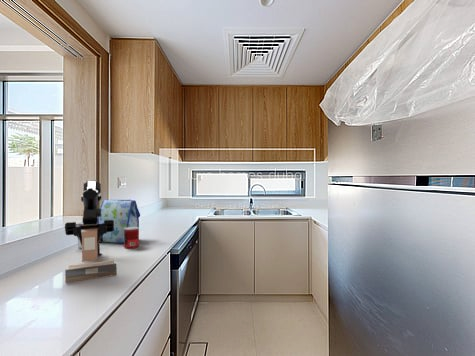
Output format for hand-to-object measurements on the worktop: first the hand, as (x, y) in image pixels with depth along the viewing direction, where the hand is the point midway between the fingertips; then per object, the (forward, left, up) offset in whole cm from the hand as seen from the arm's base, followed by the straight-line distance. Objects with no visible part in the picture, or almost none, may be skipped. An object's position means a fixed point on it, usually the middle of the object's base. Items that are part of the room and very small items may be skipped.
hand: (89, 243), depth 121 cm
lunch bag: (-39, +53, -13) cm, 67 cm away
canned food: (-19, +43, -13) cm, 48 cm away
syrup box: (-44, +33, -13) cm, 56 cm away
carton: (-1, +1, -7) cm, 7 cm away
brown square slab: (-1, +2, -12) cm, 13 cm away
